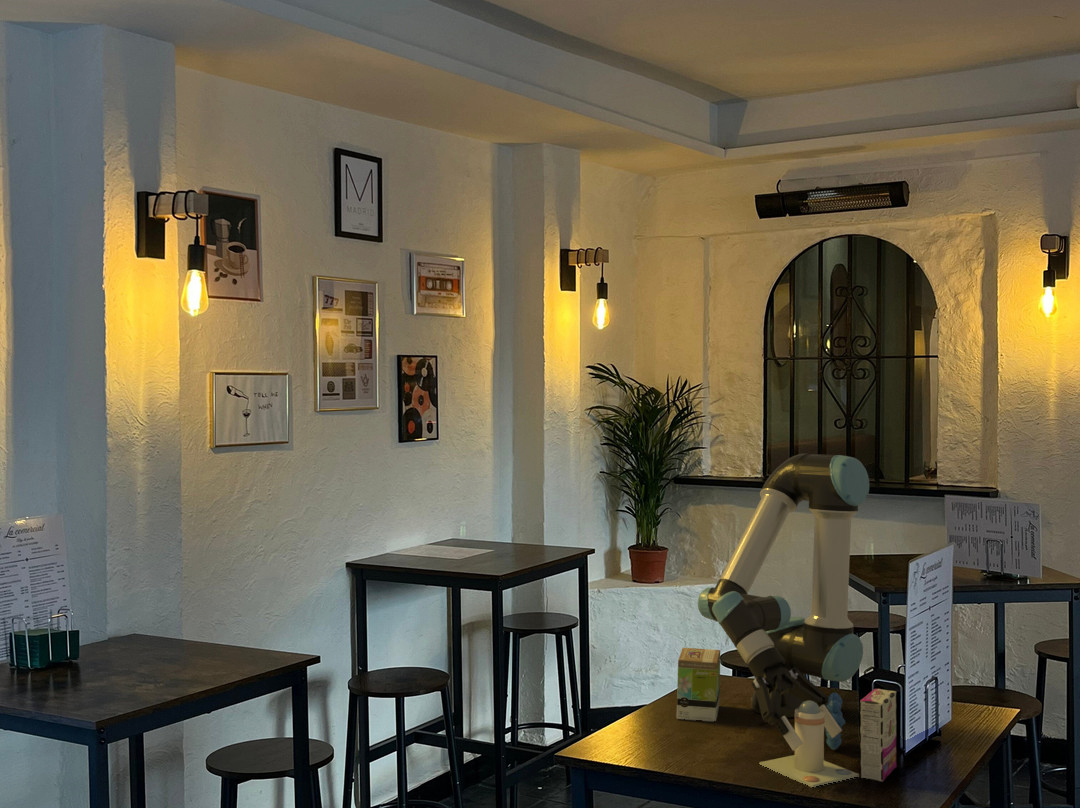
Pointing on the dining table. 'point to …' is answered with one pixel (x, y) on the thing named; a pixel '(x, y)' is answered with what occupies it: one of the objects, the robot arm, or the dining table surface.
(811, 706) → the ball tube
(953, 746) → the dining table surface
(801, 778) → the card
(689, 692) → the tea box
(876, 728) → the candy bar box
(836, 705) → the grapes
